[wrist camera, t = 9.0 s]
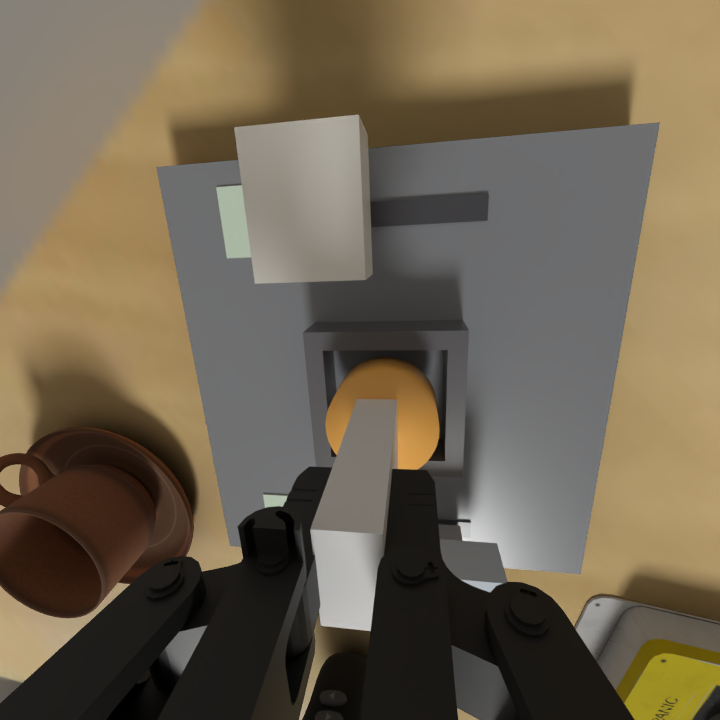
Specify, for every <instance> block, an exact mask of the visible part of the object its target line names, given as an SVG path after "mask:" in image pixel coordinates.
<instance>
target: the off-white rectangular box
mask: <svg viewBox="0 0 720 720" xmlns="http://www.w3.org/2000/svg"><path fill="white" fill-rule="evenodd" d="M234 131H235V138H236V146H237V153H238V161H239V168H240V176H241V183H242V191H243V199H244V206H245V214H246V221H247V229H248V236H249V244H250V251H251V259H252V266H253V274H254V281H255V284H263V283H292V282H321V281H351V280H366V279H367V278H369V277H370V276H371V275H372V274H373V266H372V238H371V210H370V182H369V155H368V134H367V132H366V129H365V127H364V125H363V123H362V121H361V118H360V116H359V115H349V116H339V117H329V118H320V119H310V120H300V121H291V122H281V123H271V124H262V125H252V126H242V127H234Z"/></svg>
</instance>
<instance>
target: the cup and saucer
mask: <svg viewBox="0 0 720 720" xmlns="http://www.w3.org/2000/svg"><path fill="white" fill-rule="evenodd" d="M14 464H21V468H20V474H19V486H20V493H21V495H17V494H13V493H10V492H8V491H7V490H5V489H4V488H3V487H2V486H1V484H0V505H2V506H4V507H6V508H4V509H3V510H1V511H0V586H1V587H2V588H3V589H4V590H5V591H6V592H7V593H8V594H10V595H11V596H12V597H13V598H15V599H16V600H18V601H19V602H21V603H22V604H24V605H26V606H27V607H29V608H31V609H33V610H35V611H38V612H40V613H43V614H46V615H49V616H53V617H59V618H76V617H81V616H84V615H87V614H89V613H90V612H92V611H93V610H94V609H96V608H97V607H98V605H99V604H100V603H101V602H102V601H103V600H104V598H105V597H106V596H107V595H108V594H109V592H110V591H111V590H112V589H113V588H114V587H115V585H116V584H117V583H124V584H131V583H132V582H134V581H135V580H136V579H137V578H138V577H139V576H140V575H141V574H142V573H144V572H145V571H146V570H148V569H149V568H151V567H152V566H153V565H155V564H157V563H159V562H161V561H163V560H166V559H168V558H173V557H178V556H185V557H186V555H187V553H188V551H189V549H190V546H191V543H192V538H193V530H194V525H193V516H192V511H191V508H190V504H189V502H188V499H187V497H186V494H185V492H184V490H183V488H182V486H181V485H180V483H179V481H178V480H177V478H176V477H175V476H174V474H173V473H172V472H171V470H170V469H169V468H168V467H167V466H166V465H165V464H164V463H163V462H162V461H161V460H160V459H159V458H158V457H157V456H156V455H154V454H153V453H152V452H150V451H149V450H148V449H146V448H145V447H143V446H142V445H140V444H138V443H136V442H135V441H133V440H131V439H128V438H126V437H124V436H121V435H119V434H116V433H113V432H110V431H107V430H103V429H97V428H89V427H76V428H68V429H64V430H60V431H56V432H54V433H51V434H48V435H46V436H44V437H42V438H41V439H39V440H38V441H37V442H35V443H34V444H33V445H32V446H31V447H30V449H29V450H28V451H27V453H26V454H23V453H15V454H9V455H5V456H2V457H0V472H1V471H2V470H3V469H4V468H6V467H7V466H10V465H14Z"/></svg>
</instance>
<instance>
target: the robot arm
mask: <svg viewBox="0 0 720 720" xmlns="http://www.w3.org/2000/svg"><path fill="white" fill-rule="evenodd" d="M238 531H239V537H240V542H241V548H242V553H243V560H242V562H240V563H238V564H235V565H231V566H228V567H223V568H218V569H213V570H208V571H204V572H202V571H201V568H200V565H199V562H198V561H196V560H195V559H193V558H192V557H185V556H178V557H173V558H168V559H166V560H163V561H161V562H159V563H157V564H155V565H153V566H152V567H151V568H149V569H148V570H146V571H145V572H144V573H142V574H141V575H140V576H139V577H138V578H137V579H136V580H135V581H134V582H132V583H131V584H130V585H129V586H128V587H127V588H126V589H125V590H124V591H123V592H122V593H120V594H119V595H118V596H117V597H116V598H115V599H114V600H113V601H112V602H111V603H110V604H108V605H107V606H106V607H105V608H104V609H103V610H102V611H101V612H100V613H99V614H98V615H96V616H95V617H94V618H93V619H92V620H91V621H90V622H89V623H88V624H87V625H85V626H84V627H83V628H82V629H81V630H80V631H79V632H78V633H77V634H76V635H75V636H73V637H72V638H71V639H70V640H69V641H68V642H67V643H66V644H65V645H64V646H63V647H61V648H60V649H59V650H58V651H57V652H56V653H55V654H54V655H53V656H52V657H51V658H49V659H48V660H47V661H46V662H45V663H44V664H43V665H42V666H41V667H40V668H38V669H37V670H36V671H35V672H34V673H33V674H32V675H31V676H30V677H29V678H28V679H26V680H25V681H24V682H23V683H22V684H21V685H20V686H19V687H18V688H17V689H16V690H14V691H13V692H12V693H11V694H10V695H9V696H8V697H7V698H6V699H5V700H4V701H2V702H1V703H0V720H299V716H300V712H301V708H302V704H303V699H304V695H305V691H306V687H307V683H308V678H309V674H310V670H311V666H312V662H313V657H314V653H315V635H314V629H315V625H316V621H317V617H318V613H320V622H321V626H328V627H337V628H347V629H356V630H365V631H371V632H370V640H369V649H368V658H367V667H366V675H365V684H364V693H363V702H362V711H361V719H360V720H458V714H457V708H459V709H460V710H462V711H464V712H466V713H468V714H470V715H472V716H474V717H475V718H477V719H479V720H635V719H634V718H633V716H632V715H631V713H630V712H629V710H628V709H627V707H626V706H625V704H624V703H623V701H622V699H621V698H620V696H619V695H618V693H617V692H616V690H615V689H614V687H613V686H612V684H611V683H610V681H609V680H608V678H607V677H606V675H605V674H604V672H603V671H602V669H601V667H600V666H599V664H598V663H597V661H596V660H595V658H594V657H593V655H592V654H591V652H590V651H589V649H588V648H587V646H586V645H585V643H584V642H583V640H582V639H581V637H580V635H579V634H578V632H577V631H576V629H575V628H574V626H573V625H572V623H571V622H570V620H569V619H568V617H567V616H566V614H565V613H564V611H563V610H562V609H561V608H560V606H559V605H558V604H557V603H556V602H555V601H554V600H553V598H552V597H550V596H549V595H547V594H546V593H544V592H543V591H541V590H540V589H538V588H536V587H533V586H531V585H528V584H525V583H521V582H506V583H503V584H500V585H497V586H496V587H495V588H494V589H493V590H492V591H491V592H487V591H485V590H482V589H479V588H477V587H474V586H472V585H470V584H467V583H465V582H463V581H462V580H460V579H459V578H458V577H456V576H455V575H454V574H453V573H452V572H451V571H450V570H449V569H448V568H447V566H446V564H445V563H444V561H443V559H442V554H441V548H440V536H439V525H438V513H437V501H436V490H435V481H434V480H433V478H432V477H431V476H430V474H429V473H428V471H427V470H411V469H398V419H397V399H357V400H356V403H355V406H354V409H353V411H352V414H351V417H350V420H349V423H348V425H347V428H346V431H345V434H344V437H343V439H342V442H341V445H340V448H339V450H338V453H337V456H336V459H335V462H334V464H333V467H310V466H309V467H308V468H307V469H306V470H304V471H303V472H302V473H301V474H300V475H299V476H297V478H296V480H295V482H294V484H293V487H292V489H291V491H290V493H289V495H288V497H287V500H286V501H285V503H284V505H283V507H281V506H275V507H266V508H263V509H260V510H257V511H255V512H253V513H252V514H250V515H249V516H247V517H246V518H245V519H244V520H243V521H242V522H241V523H240V524H239V525H238Z"/></svg>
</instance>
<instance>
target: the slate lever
mask: <svg viewBox="0 0 720 720" xmlns="http://www.w3.org/2000/svg"><path fill="white" fill-rule="evenodd" d="M438 525H439V536H440V548H441V554H442V559H443V561H444V563H445V564H446V566H447V568H448V569H449V570H450V571H451V572H452V573H453V574H454V575H455V576H456V577H458V578H459V579H460V580H462V581H463V582H465V583H467V584H470V585H472V586H474V587H477V588H479V589H482V590H485V591H487V592H491V591H492V590H493V589H494V588H495V587H496V586H497V585H500V584H503V583H506V582H507V578H506V575H505V571H504V567H503V563H502V560H501V556H500V552H499V549H498V545H497V543H487V542H473V541H463V540H462V534H461V528H460V526H457V525H442V524H438Z"/></svg>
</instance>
